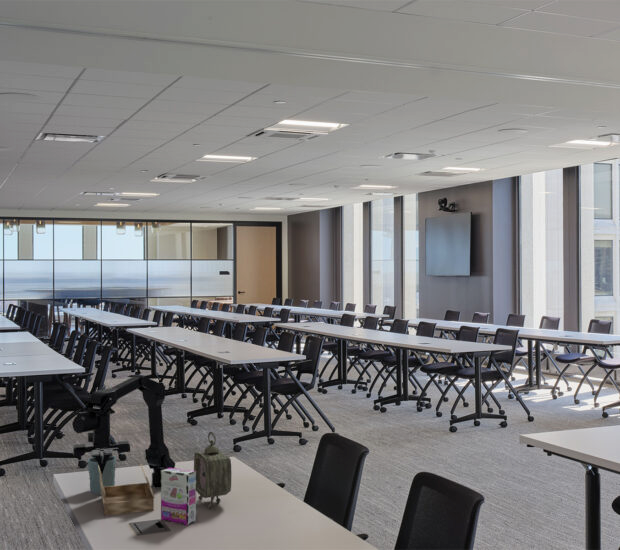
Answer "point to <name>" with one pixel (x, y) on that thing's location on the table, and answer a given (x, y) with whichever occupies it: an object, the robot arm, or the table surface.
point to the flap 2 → (147, 480)
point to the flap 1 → (101, 484)
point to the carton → (127, 499)
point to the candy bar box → (178, 496)
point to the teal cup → (107, 474)
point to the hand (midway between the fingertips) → (101, 473)
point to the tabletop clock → (212, 472)
